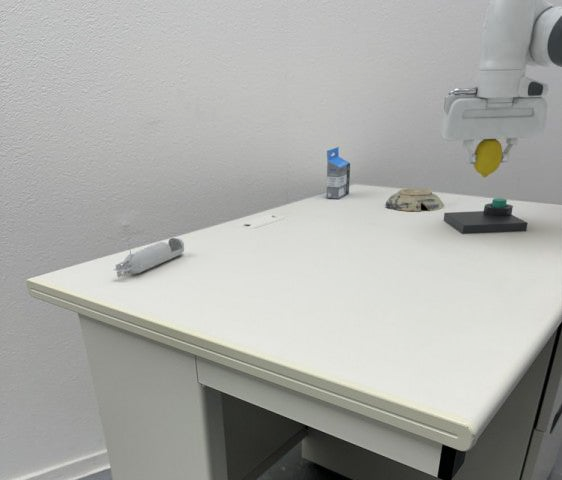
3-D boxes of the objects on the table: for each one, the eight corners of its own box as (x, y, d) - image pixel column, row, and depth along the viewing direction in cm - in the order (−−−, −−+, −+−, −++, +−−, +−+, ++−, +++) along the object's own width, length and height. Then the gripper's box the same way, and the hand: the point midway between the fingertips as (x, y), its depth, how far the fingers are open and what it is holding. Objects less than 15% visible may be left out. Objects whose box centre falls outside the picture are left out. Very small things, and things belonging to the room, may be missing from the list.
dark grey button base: (502, 217, 128) (505, 202, 126) (528, 231, 117) (531, 214, 115) (442, 220, 127) (444, 205, 125) (462, 234, 116) (464, 217, 114)
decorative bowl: (417, 197, 150) (372, 203, 144) (419, 183, 148) (373, 188, 142) (455, 208, 138) (408, 215, 132) (458, 193, 136) (410, 199, 130)
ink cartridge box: (339, 199, 150) (340, 151, 144) (325, 198, 151) (326, 150, 145) (349, 193, 157) (351, 147, 151) (336, 192, 158) (338, 146, 152)
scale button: (502, 205, 125) (503, 197, 124) (507, 208, 122) (509, 200, 121) (489, 206, 125) (490, 198, 124) (494, 209, 122) (496, 201, 121)
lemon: (504, 178, 112) (511, 136, 109) (482, 180, 111) (488, 138, 107) (486, 174, 117) (493, 133, 113) (465, 176, 115) (470, 135, 111)
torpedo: (171, 251, 109) (167, 219, 106) (190, 254, 108) (187, 221, 104) (108, 279, 96) (101, 242, 92) (129, 283, 94) (122, 245, 91)
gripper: (452, 89, 102) (443, 166, 109) (557, 86, 104) (541, 163, 110) (440, 88, 108) (432, 162, 115) (540, 85, 109) (526, 158, 116)
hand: (487, 162), depth 112 cm, fingers closed on lemon, 5 cm apart
